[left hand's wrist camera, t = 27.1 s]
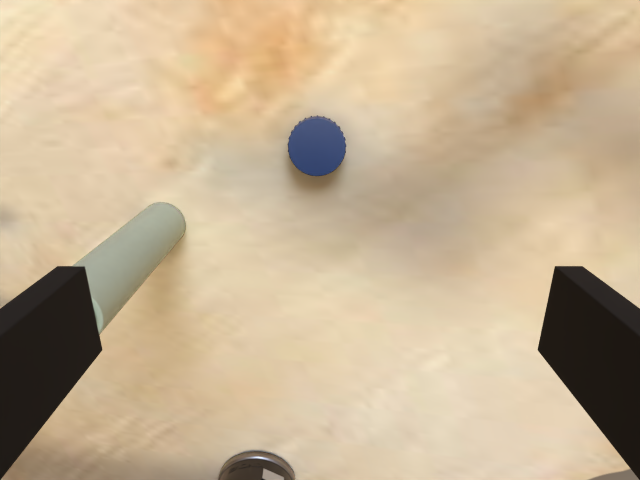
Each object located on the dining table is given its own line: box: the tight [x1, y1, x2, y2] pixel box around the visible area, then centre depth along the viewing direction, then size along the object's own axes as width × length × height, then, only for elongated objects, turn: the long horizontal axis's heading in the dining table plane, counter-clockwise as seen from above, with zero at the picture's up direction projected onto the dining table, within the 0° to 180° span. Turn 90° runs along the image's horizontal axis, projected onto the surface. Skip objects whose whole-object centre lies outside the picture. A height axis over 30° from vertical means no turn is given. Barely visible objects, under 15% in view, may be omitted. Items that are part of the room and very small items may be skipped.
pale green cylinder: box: [73, 203, 186, 335], centre depth 34 cm, size 4×4×19 cm
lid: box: [288, 116, 346, 176], centre depth 40 cm, size 5×5×2 cm
